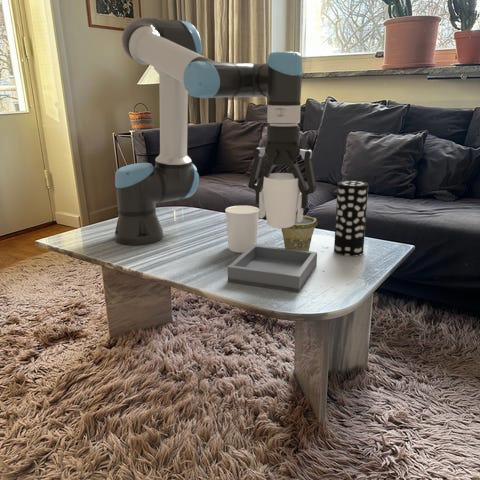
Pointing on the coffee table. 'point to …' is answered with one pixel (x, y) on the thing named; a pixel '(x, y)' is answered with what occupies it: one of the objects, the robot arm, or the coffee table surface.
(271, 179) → the cup
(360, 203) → the spotted tube
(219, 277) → the coffee table surface
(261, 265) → the tray
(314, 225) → the ceramic cup
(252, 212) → the candle holder
